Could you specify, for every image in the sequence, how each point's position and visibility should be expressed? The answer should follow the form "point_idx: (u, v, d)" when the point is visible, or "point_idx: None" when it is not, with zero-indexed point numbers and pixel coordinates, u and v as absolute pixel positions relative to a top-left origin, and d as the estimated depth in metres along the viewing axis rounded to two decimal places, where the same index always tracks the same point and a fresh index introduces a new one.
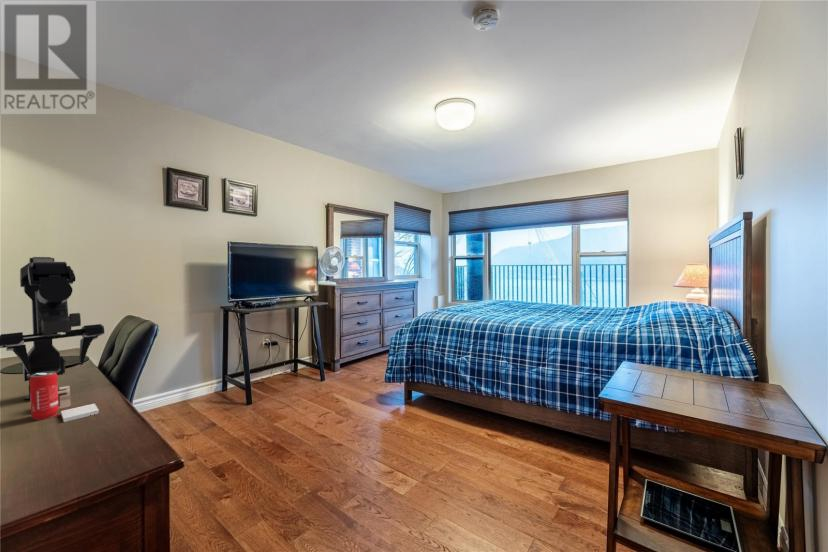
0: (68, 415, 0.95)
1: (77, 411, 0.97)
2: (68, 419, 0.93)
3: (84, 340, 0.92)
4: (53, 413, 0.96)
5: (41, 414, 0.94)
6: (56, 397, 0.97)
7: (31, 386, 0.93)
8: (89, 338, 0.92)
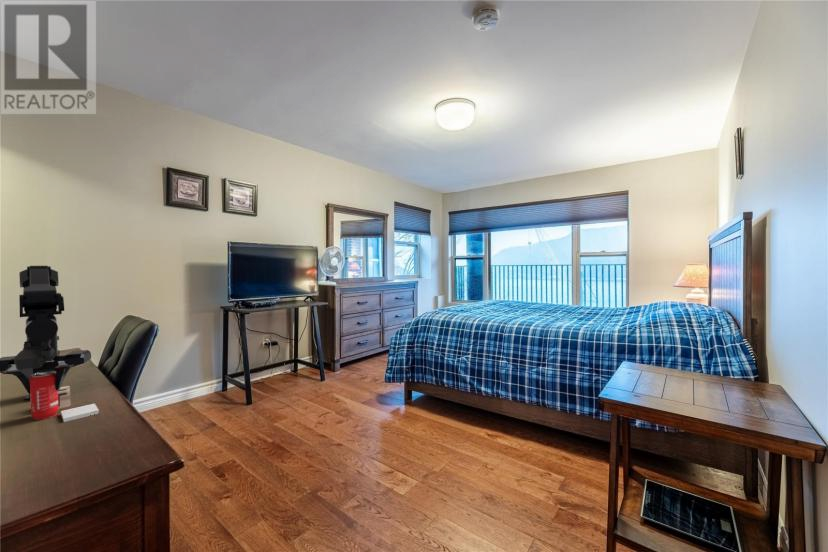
0: (68, 415, 0.95)
1: (77, 411, 0.97)
2: (68, 419, 0.93)
3: (56, 370, 0.95)
4: (53, 413, 0.96)
5: (41, 414, 0.94)
6: (56, 397, 0.97)
7: (31, 386, 0.93)
8: (60, 368, 0.95)
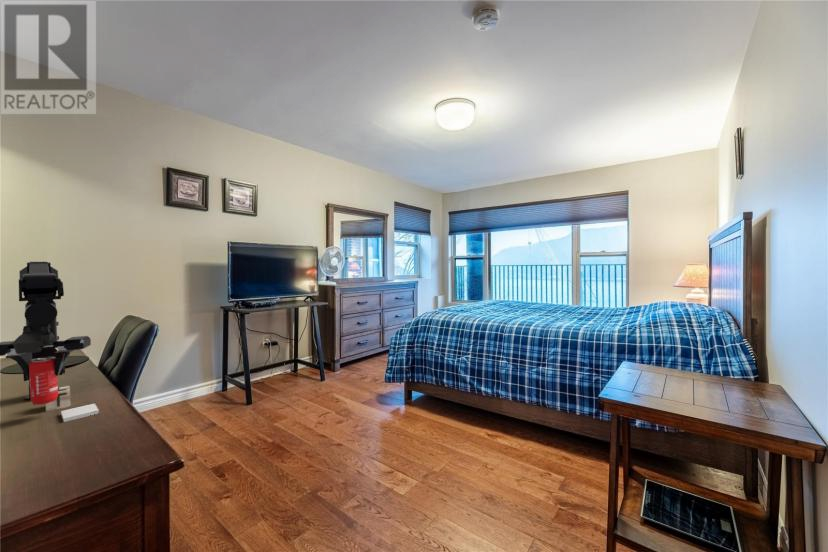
0: (68, 415, 0.95)
1: (77, 411, 0.97)
2: (68, 419, 0.93)
3: (55, 355, 0.95)
4: (52, 398, 0.96)
5: (40, 399, 0.94)
6: (55, 382, 0.96)
7: (30, 371, 0.93)
8: (59, 353, 0.95)
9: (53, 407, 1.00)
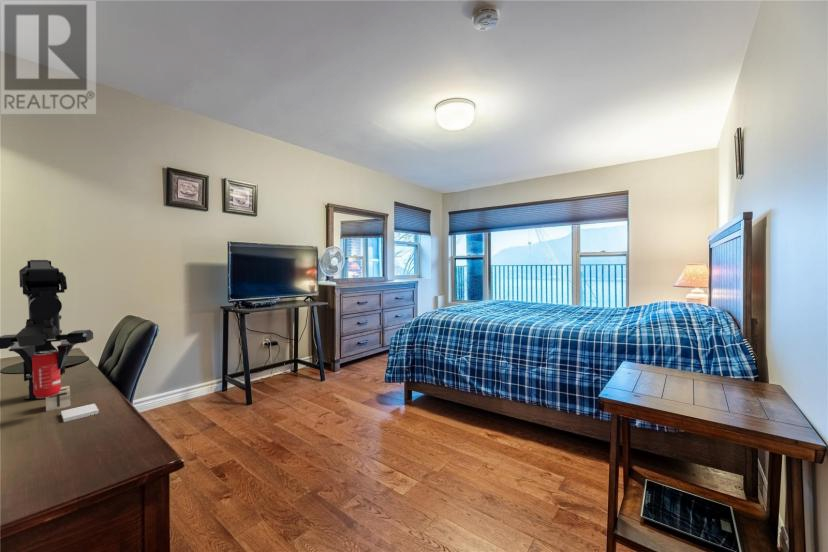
0: (68, 415, 0.95)
1: (77, 411, 0.97)
2: (68, 419, 0.93)
3: (58, 348, 0.95)
4: (55, 392, 0.96)
5: (43, 392, 0.94)
6: (58, 376, 0.97)
7: (33, 364, 0.93)
8: (62, 347, 0.95)
9: (53, 407, 1.00)
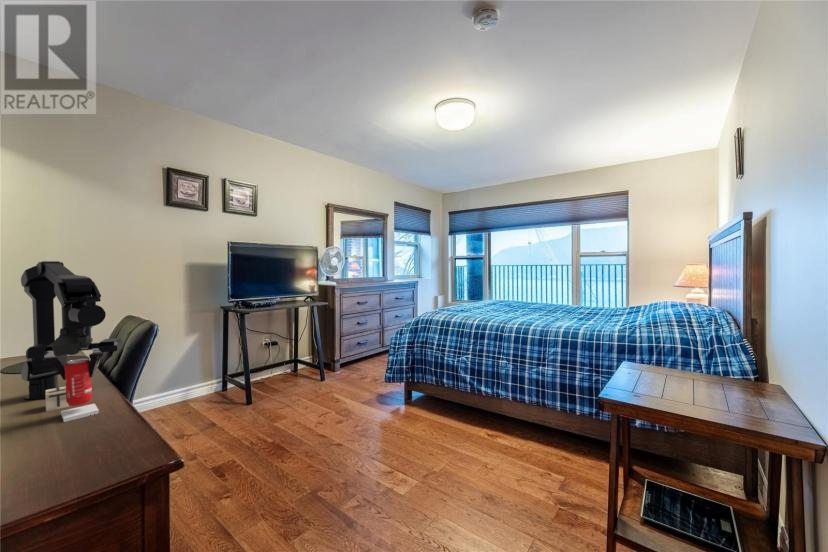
0: (68, 415, 0.95)
1: (77, 411, 0.97)
2: (68, 419, 0.93)
3: (90, 357, 0.96)
4: (87, 399, 0.97)
5: (76, 400, 0.95)
6: (90, 384, 0.98)
7: (66, 373, 0.94)
8: (94, 355, 0.96)
9: (53, 407, 1.00)
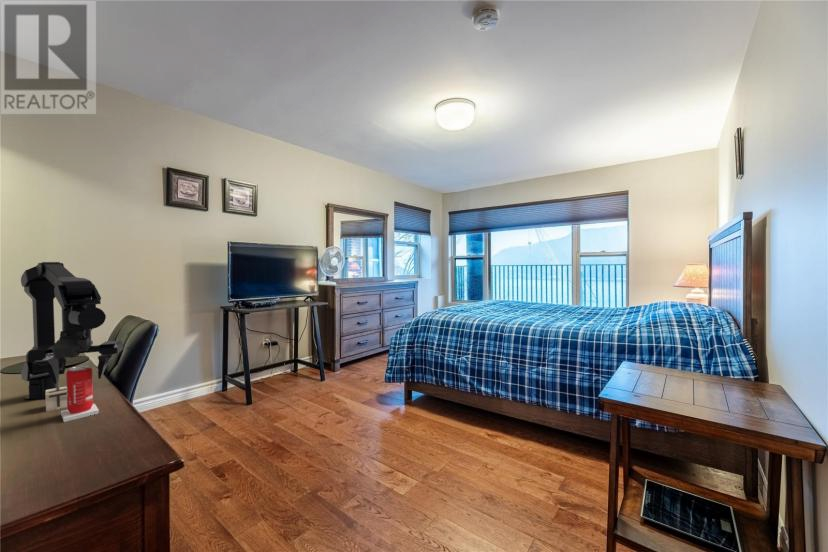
0: (68, 415, 0.95)
1: None
2: (68, 419, 0.93)
3: (99, 358, 0.97)
4: (88, 407, 0.97)
5: (77, 408, 0.95)
6: (91, 391, 0.98)
7: (68, 380, 0.95)
8: (103, 357, 0.97)
9: (53, 407, 1.00)
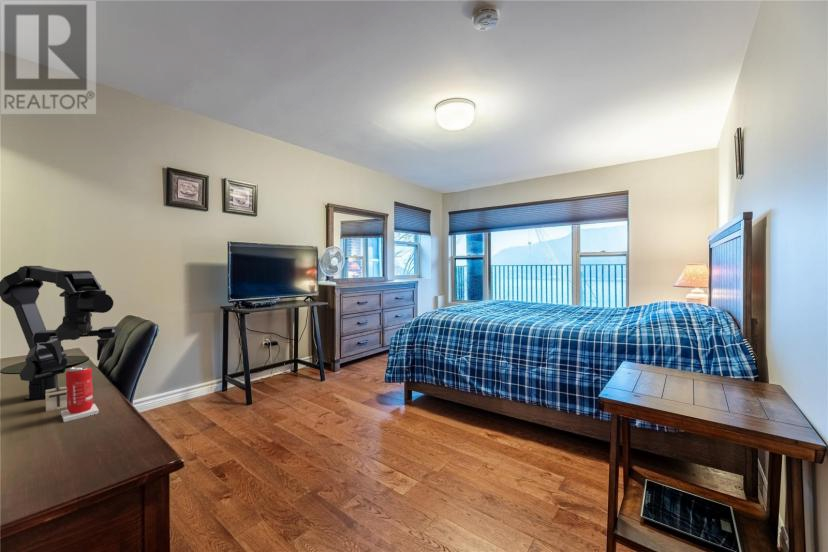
0: (68, 415, 0.95)
1: None
2: (68, 419, 0.93)
3: (98, 342, 1.07)
4: (88, 407, 0.97)
5: (77, 408, 0.95)
6: (91, 391, 0.98)
7: (67, 380, 0.95)
8: (101, 341, 1.07)
9: (53, 407, 1.00)
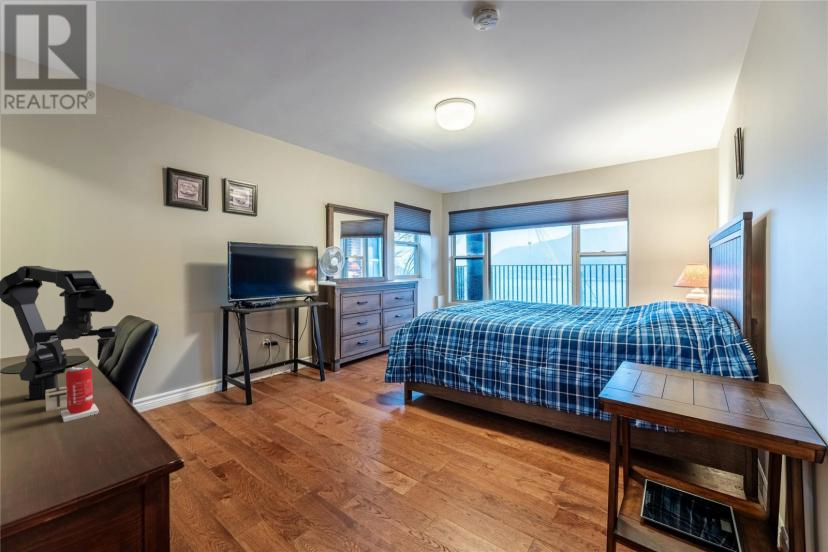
0: (68, 415, 0.95)
1: None
2: (68, 419, 0.93)
3: (98, 341, 1.07)
4: (88, 407, 0.97)
5: (77, 408, 0.95)
6: (91, 391, 0.98)
7: (67, 380, 0.95)
8: (102, 340, 1.07)
9: (53, 407, 1.00)
